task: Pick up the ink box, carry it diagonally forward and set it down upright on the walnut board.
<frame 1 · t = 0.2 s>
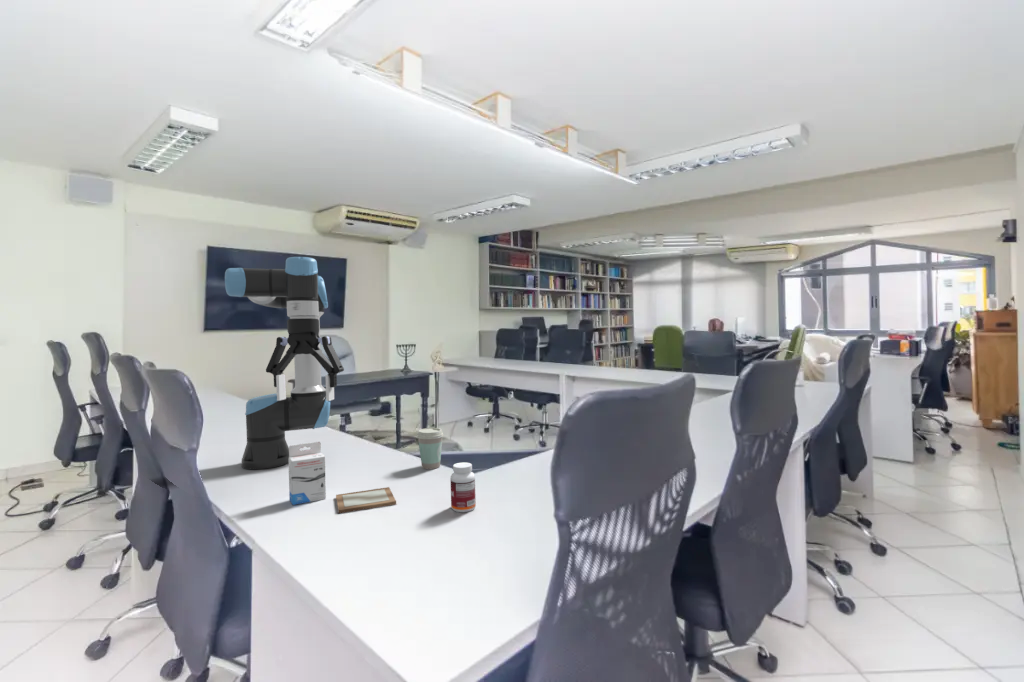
hand: (305, 400, 124), 27 cm above the table, fingers open, 13 cm apart
board: (365, 500, 126), on the table
coffee cup: (431, 467, 156), on the table
ink box: (308, 500, 128), on the table
pill bottle: (463, 509, 120), on the table
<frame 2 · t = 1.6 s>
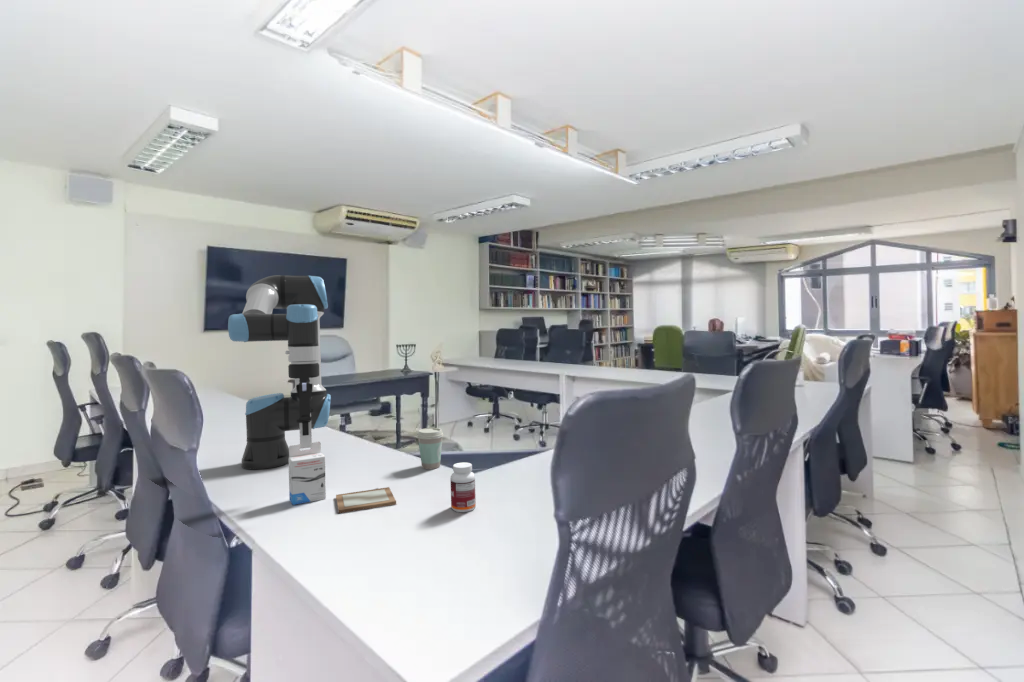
hand: (306, 442, 127), 15 cm above the table, fingers open, 13 cm apart
nothing on the table moved.
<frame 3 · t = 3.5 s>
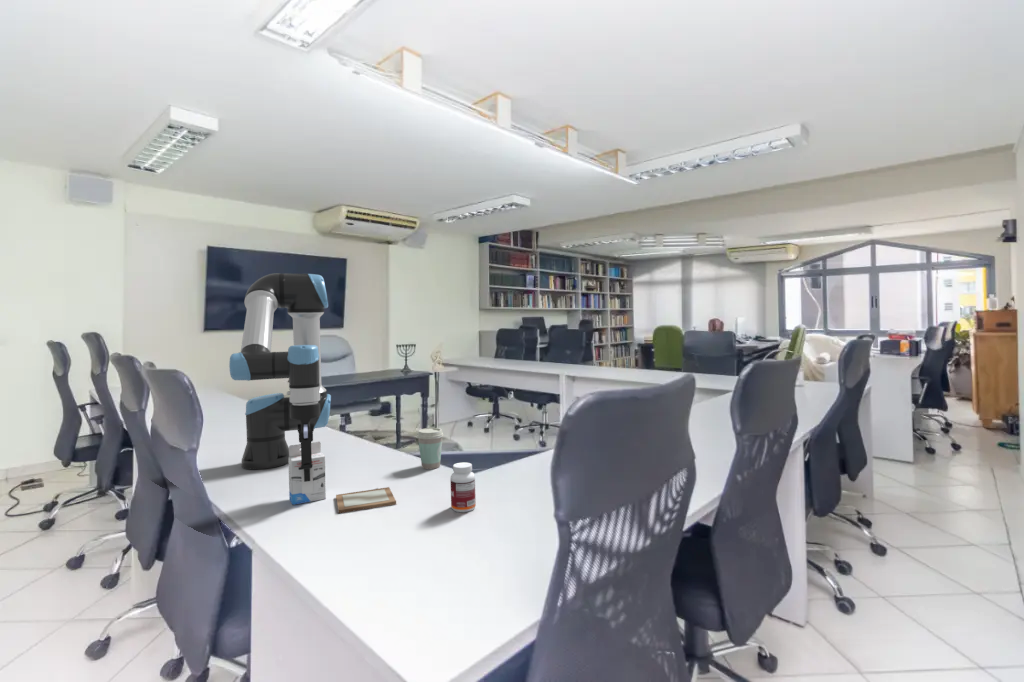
hand: (307, 488, 128), 3 cm above the table, fingers closed on ink box, 5 cm apart
ink box: (308, 500, 128), on the table, touching gripper
everything else where it was.
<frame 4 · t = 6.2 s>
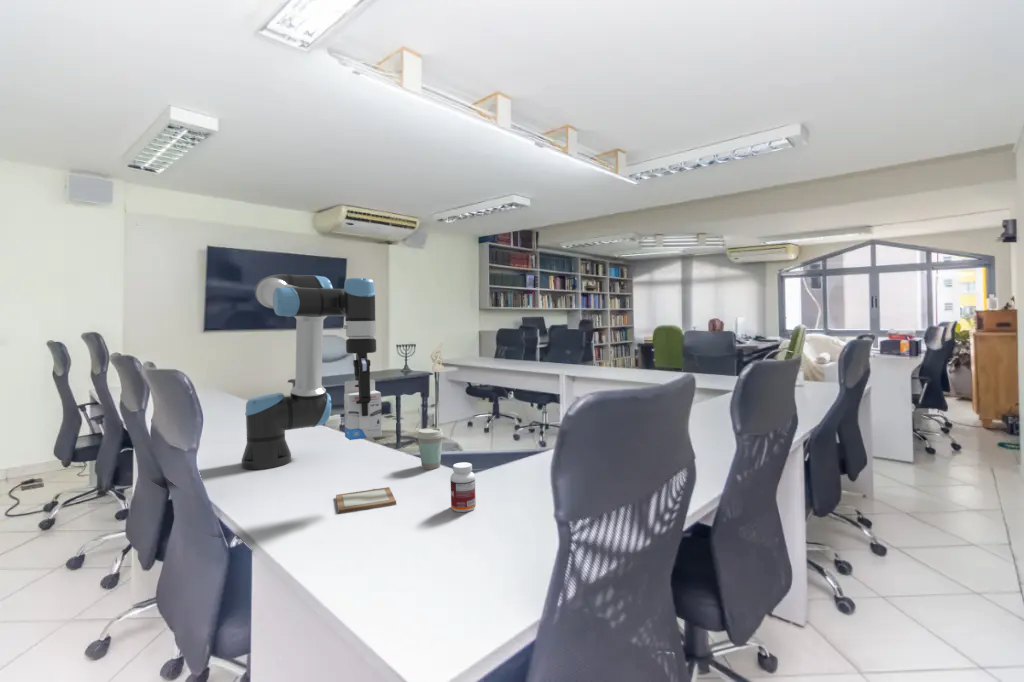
hand: (363, 425, 126), 20 cm above the table, fingers closed on ink box, 5 cm apart
ink box: (363, 437, 126), point 17 cm above the table, touching gripper
everything else where it was.
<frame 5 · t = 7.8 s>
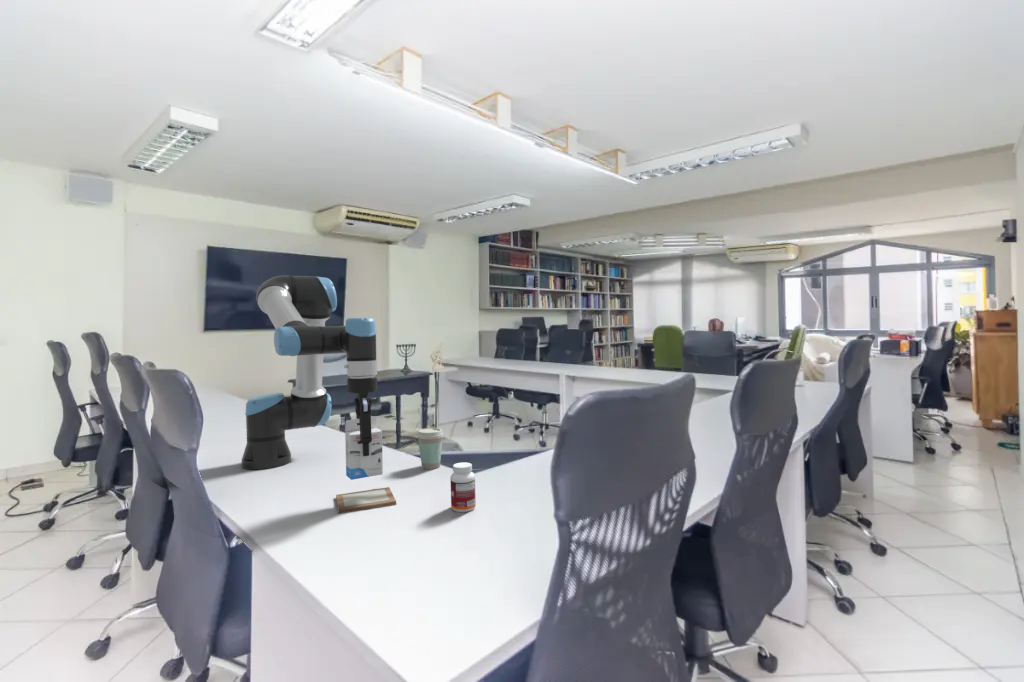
hand: (364, 464, 126), 10 cm above the table, fingers closed on ink box, 5 cm apart
ink box: (364, 475, 126), point 7 cm above the table, touching gripper
everything else where it was.
when the fingers open (5 cm above the table, at t = 9.2 s): ink box stays where it is, resting on board.
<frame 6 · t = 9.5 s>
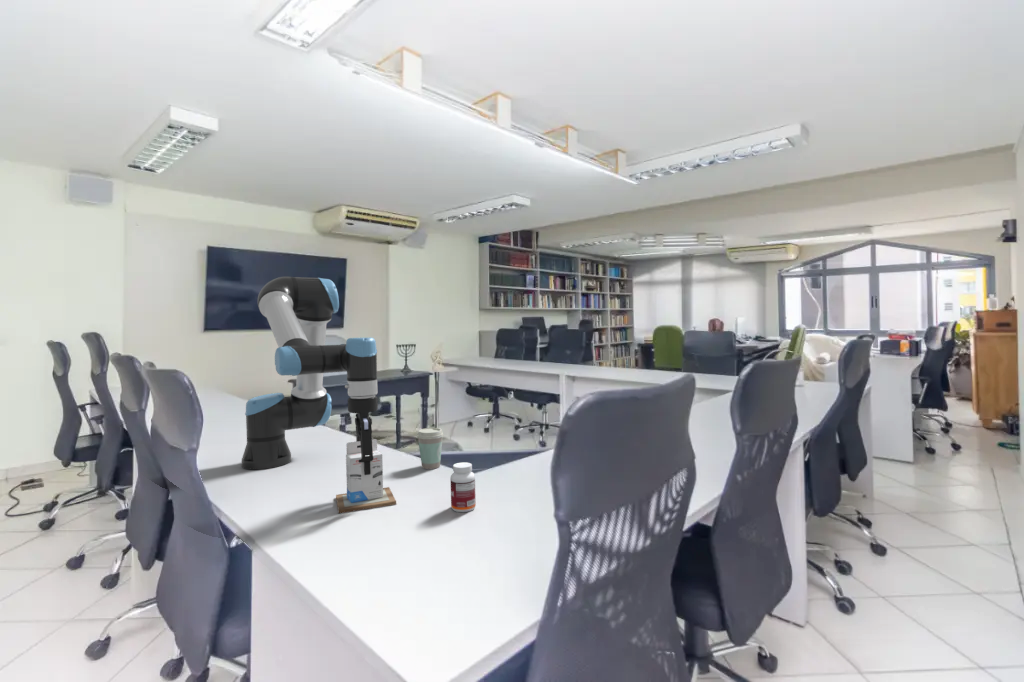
hand: (364, 480, 126), 5 cm above the table, fingers open, 10 cm apart
ink box: (365, 498, 126), point 1 cm above the table, touching board
everything else where it was.
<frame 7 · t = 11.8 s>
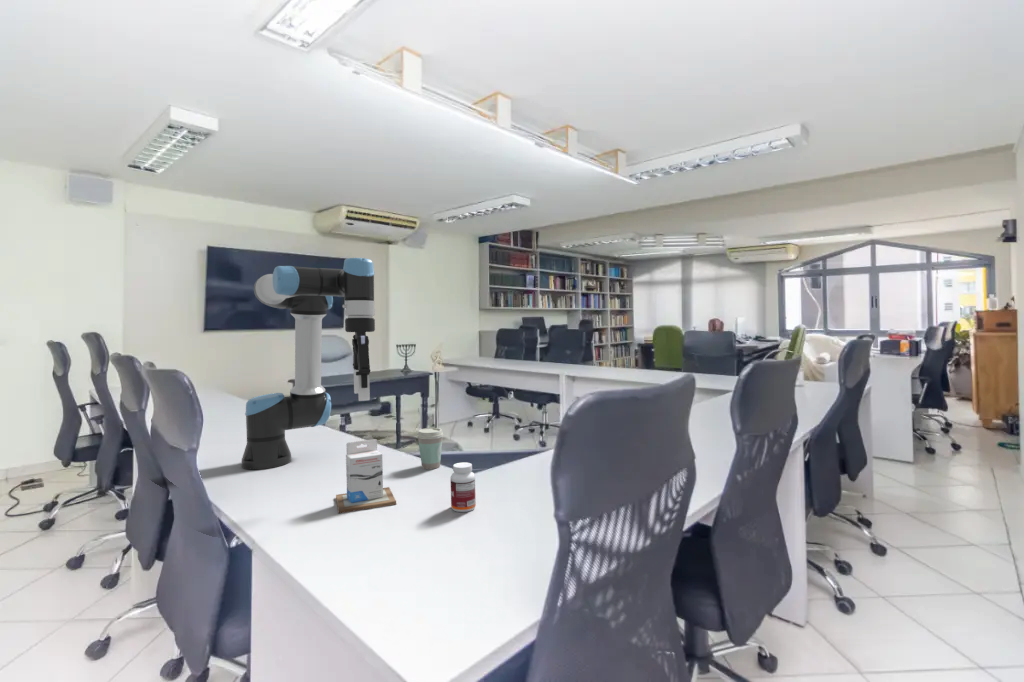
hand: (361, 396, 128), 27 cm above the table, fingers open, 13 cm apart
nothing on the table moved.
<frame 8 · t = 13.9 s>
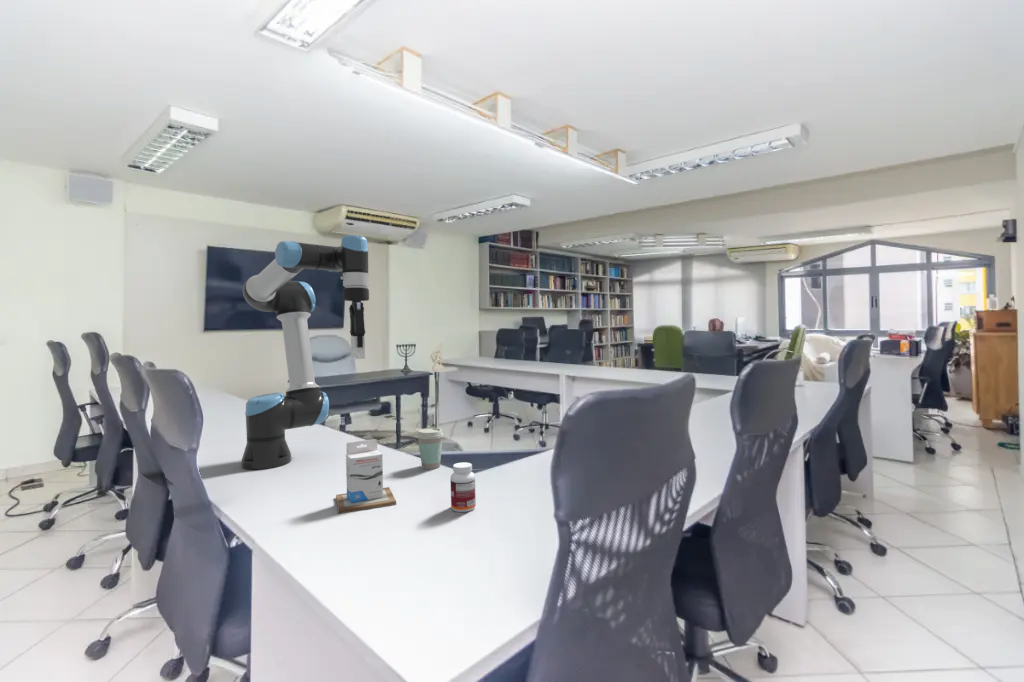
hand: (357, 357, 146), 37 cm above the table, fingers open, 13 cm apart
nothing on the table moved.
at the end: ink box inside the target area on the board (0.1 cm from its centre), point 0.7 cm above the board's base; ink box tilted 0°; the gripper is holding nothing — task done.
